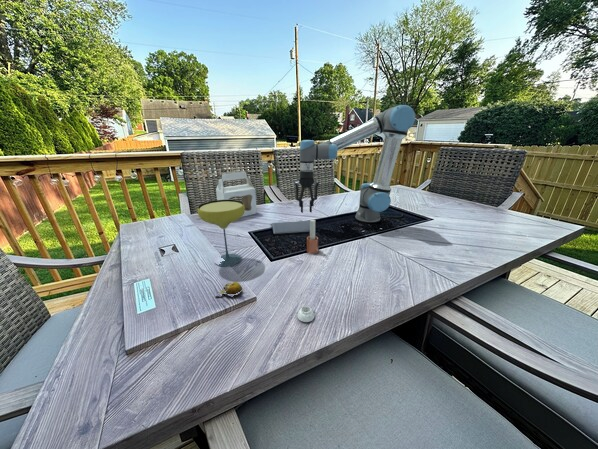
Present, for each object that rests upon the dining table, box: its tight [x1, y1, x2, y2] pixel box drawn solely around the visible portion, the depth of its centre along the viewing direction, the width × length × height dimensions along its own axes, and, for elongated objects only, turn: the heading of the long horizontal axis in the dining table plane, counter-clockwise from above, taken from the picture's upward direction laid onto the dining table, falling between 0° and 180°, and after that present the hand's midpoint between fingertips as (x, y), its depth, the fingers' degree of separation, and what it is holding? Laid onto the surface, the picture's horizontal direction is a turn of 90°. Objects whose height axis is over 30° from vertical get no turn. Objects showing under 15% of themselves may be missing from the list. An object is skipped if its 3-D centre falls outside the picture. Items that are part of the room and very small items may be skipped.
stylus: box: [309, 219, 316, 240], centre depth 112 cm, size 2×2×15 cm
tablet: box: [271, 220, 310, 236], centre depth 142 cm, size 23×17×1 cm
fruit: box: [217, 281, 243, 299], centre depth 85 cm, size 8×8×4 cm
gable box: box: [215, 171, 258, 218], centre depth 162 cm, size 22×13×28 cm, turn 127°
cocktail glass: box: [197, 199, 245, 268], centre depth 103 cm, size 18×18×25 cm
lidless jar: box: [297, 305, 315, 323], centre depth 74 cm, size 5×3×5 cm
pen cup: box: [306, 235, 319, 254], centre depth 113 cm, size 5×5×7 cm
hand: (306, 211), depth 140 cm, fingers open, 4 cm apart
